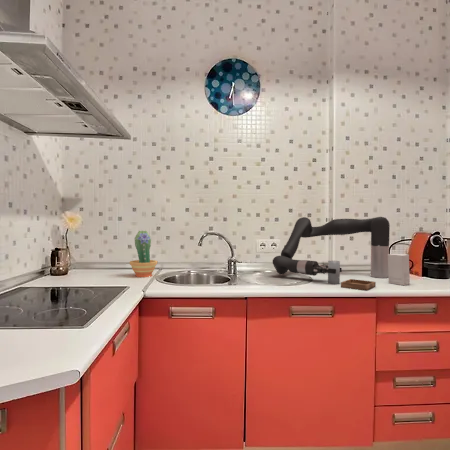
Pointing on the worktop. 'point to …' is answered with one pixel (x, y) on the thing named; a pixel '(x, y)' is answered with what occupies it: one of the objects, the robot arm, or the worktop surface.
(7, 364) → the worktop surface
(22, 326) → the worktop surface
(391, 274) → the skincare box
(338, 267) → the grey upright block
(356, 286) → the tray
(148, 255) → the potted cactus
